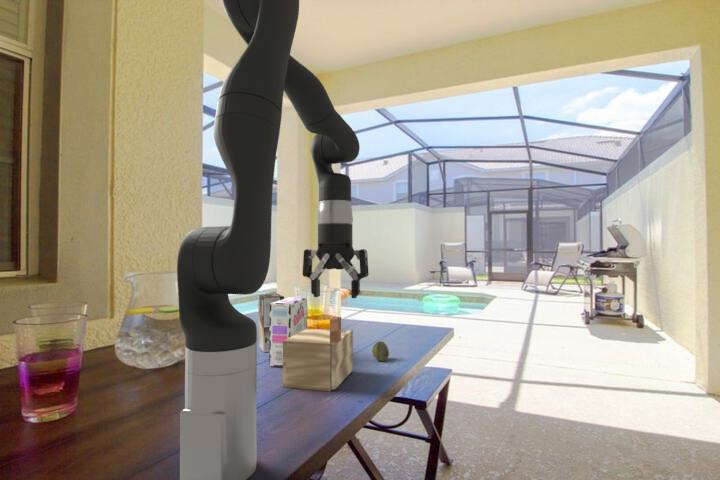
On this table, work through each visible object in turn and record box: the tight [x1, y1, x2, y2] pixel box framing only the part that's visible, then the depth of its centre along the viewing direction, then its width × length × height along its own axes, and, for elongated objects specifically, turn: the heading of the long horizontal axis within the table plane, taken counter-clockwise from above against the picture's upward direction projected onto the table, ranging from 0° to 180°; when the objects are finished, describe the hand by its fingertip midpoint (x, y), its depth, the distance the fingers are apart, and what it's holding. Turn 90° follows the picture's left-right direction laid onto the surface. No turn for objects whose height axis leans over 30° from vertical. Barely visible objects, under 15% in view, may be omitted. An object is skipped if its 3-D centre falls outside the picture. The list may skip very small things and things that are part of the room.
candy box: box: [268, 296, 308, 368], centre depth 110 cm, size 14×6×16 cm, turn 168°
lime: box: [371, 341, 390, 362], centre depth 110 cm, size 4×5×5 cm
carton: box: [282, 328, 348, 392], centre depth 94 cm, size 14×11×10 cm
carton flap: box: [329, 316, 354, 391], centre depth 93 cm, size 14×2×15 cm, turn 166°
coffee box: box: [257, 293, 285, 353], centre depth 123 cm, size 9×6×16 cm
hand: (335, 297), depth 88 cm, fingers open, 8 cm apart
